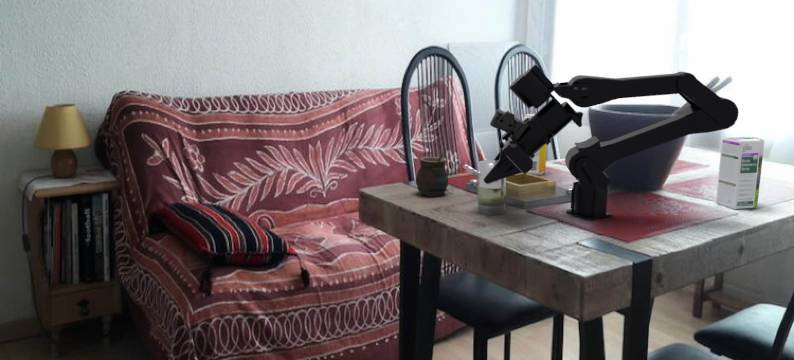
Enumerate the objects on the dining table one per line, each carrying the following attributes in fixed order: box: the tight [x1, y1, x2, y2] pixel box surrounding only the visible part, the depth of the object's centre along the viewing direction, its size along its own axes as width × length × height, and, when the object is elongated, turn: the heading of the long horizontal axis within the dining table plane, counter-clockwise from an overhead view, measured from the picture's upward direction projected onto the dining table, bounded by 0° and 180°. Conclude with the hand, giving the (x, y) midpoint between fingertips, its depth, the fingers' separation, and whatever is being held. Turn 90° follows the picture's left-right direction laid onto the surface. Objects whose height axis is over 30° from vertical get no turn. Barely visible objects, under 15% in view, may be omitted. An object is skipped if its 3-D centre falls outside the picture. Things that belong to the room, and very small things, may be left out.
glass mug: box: [462, 159, 506, 216], centre depth 138 cm, size 9×6×10 cm, turn 82°
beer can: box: [523, 113, 548, 176], centre depth 175 cm, size 6×6×15 cm
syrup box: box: [715, 135, 765, 210], centre depth 144 cm, size 6×6×14 cm
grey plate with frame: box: [464, 172, 573, 210], centre depth 153 cm, size 20×16×4 cm
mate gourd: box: [415, 152, 449, 197], centre depth 152 cm, size 7×8×10 cm
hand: (485, 178), depth 138 cm, fingers closed on glass mug, 5 cm apart
